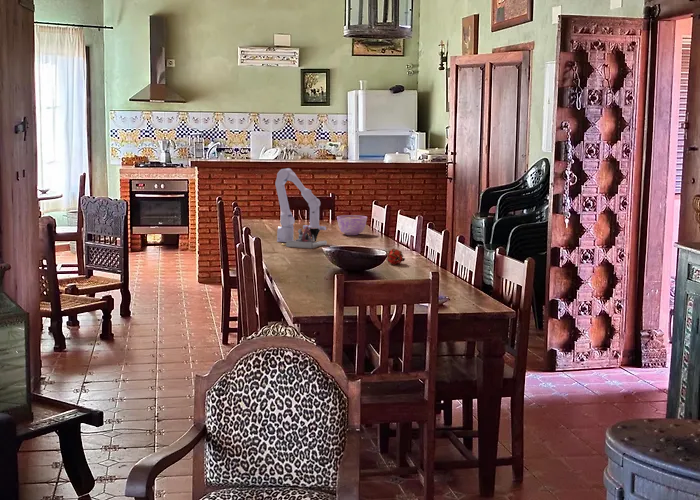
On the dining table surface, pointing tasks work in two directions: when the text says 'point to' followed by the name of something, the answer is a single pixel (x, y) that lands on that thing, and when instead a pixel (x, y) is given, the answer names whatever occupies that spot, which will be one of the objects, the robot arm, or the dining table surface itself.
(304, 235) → the brake caliper
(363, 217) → the purple rounded bowl
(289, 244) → the receiver
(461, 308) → the dining table surface
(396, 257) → the dragon fruit
